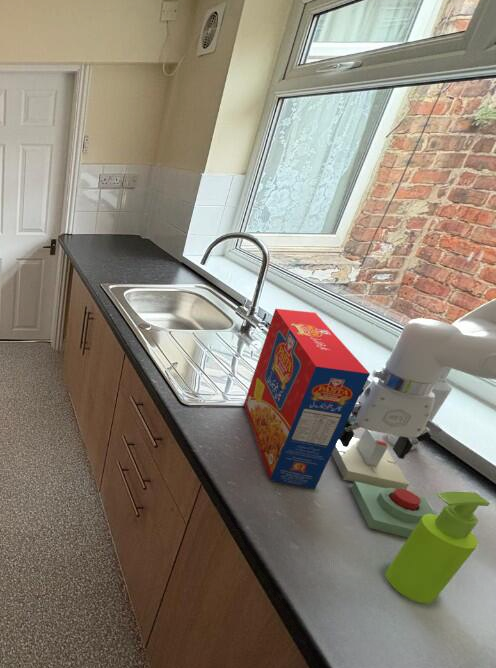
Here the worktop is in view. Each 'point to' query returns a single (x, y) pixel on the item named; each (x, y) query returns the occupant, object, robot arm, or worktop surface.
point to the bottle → (440, 393)
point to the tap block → (367, 467)
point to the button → (405, 499)
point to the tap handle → (371, 447)
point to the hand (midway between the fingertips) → (369, 448)
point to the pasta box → (301, 396)
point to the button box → (387, 510)
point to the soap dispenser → (436, 548)
